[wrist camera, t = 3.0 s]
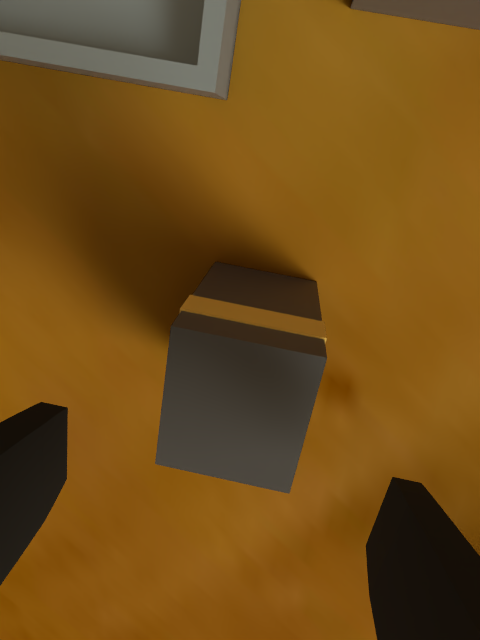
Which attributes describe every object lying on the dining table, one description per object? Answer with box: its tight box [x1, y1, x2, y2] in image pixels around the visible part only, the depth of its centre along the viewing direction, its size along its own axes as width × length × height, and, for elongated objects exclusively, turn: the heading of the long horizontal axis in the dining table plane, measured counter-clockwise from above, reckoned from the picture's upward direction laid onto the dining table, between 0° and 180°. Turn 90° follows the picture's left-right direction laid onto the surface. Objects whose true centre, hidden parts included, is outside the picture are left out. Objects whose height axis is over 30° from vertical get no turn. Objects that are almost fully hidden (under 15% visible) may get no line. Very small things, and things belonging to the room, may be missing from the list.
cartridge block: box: [155, 262, 327, 493], centre depth 15 cm, size 4×5×6 cm
